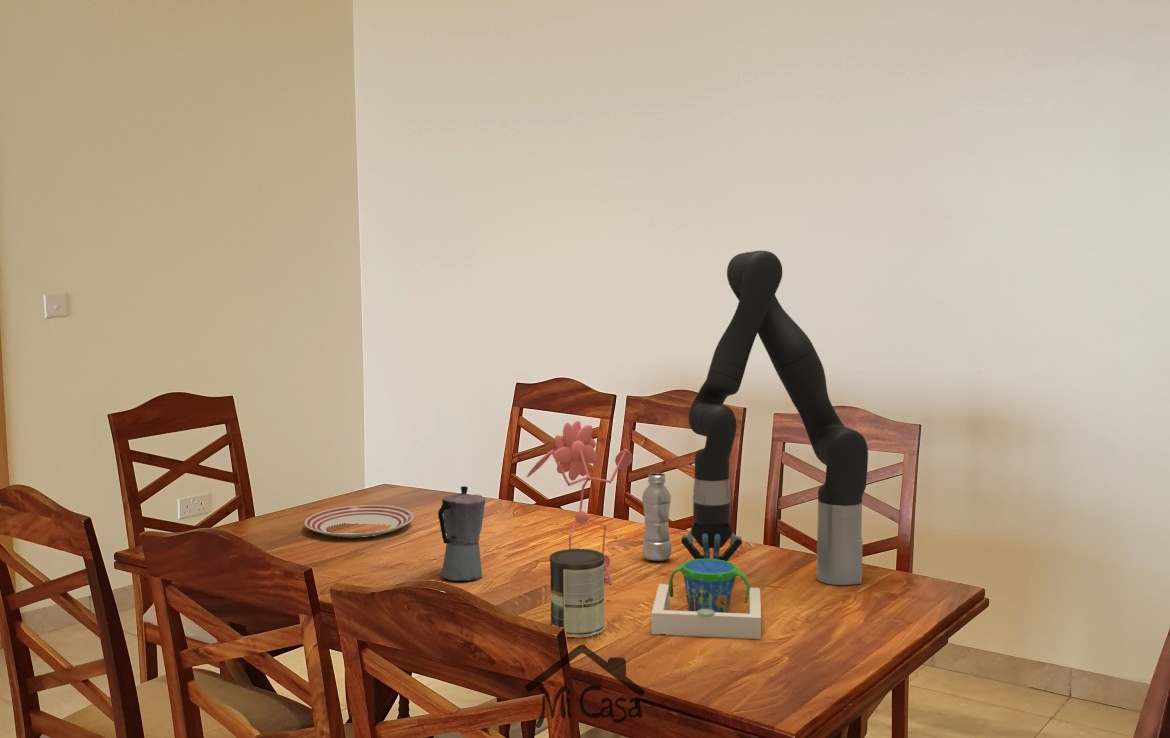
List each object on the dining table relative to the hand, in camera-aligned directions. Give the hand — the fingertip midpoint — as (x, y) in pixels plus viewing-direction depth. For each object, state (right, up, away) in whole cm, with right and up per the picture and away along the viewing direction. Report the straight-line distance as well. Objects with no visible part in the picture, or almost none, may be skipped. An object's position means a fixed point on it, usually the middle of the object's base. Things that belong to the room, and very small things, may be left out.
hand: (711, 581), depth 226 cm
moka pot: (-53, -2, +12) cm, 54 cm away
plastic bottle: (-10, 0, +25) cm, 27 cm away
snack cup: (-2, -4, -14) cm, 15 cm away
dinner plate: (-84, +2, +55) cm, 101 cm away
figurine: (-28, -2, +9) cm, 30 cm away
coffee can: (-28, -5, -21) cm, 35 cm away
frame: (-3, -4, -16) cm, 17 cm away
